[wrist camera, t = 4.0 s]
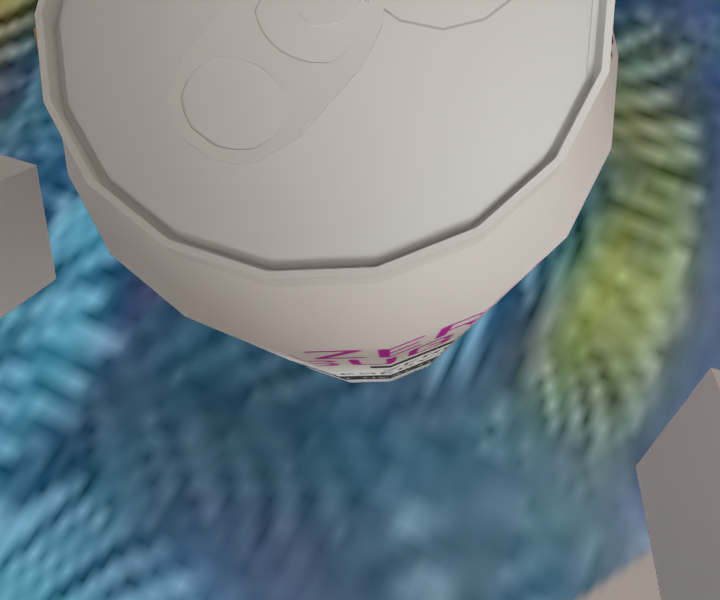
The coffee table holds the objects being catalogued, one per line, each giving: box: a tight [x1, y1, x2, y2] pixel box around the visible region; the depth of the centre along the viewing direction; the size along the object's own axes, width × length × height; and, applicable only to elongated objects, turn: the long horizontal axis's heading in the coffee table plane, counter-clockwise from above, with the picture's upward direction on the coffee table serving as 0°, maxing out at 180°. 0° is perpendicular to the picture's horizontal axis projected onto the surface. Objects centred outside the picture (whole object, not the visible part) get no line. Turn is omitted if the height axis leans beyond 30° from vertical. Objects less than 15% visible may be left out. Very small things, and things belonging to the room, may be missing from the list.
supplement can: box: [35, 0, 618, 382], centre depth 14 cm, size 8×8×15 cm
